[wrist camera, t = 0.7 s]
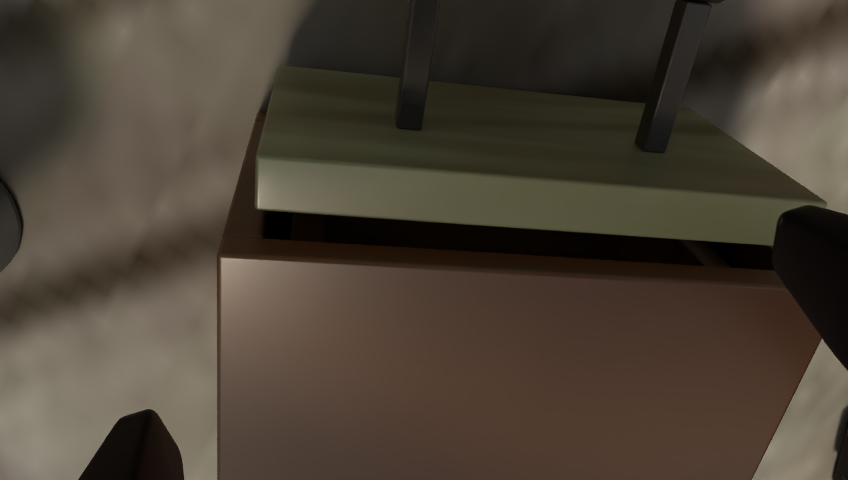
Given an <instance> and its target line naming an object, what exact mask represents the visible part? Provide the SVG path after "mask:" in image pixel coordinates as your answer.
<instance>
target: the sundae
mask: <svg viewBox="0 0 848 480" xmlns="http://www.w3.org/2000/svg"><path fill="white" fill-rule="evenodd" d="M20 237H21V222H20V218H19V214H18V211H17V208H16V206H15V203H14V201H13V198H12V196H11V195H10V194H9V192H8V191H7V190H6V188H5V187H4V186H3V184H2V183H1V182H0V272H1V271H2V270H3V269H4V268H5V267H6V266H7V265H8V264H9V263H10V262H11V260H12V259H13V257H14V256H15V254H16V253H17V251H18V247H19V242H20Z"/></svg>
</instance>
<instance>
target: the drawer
mask: <svg viewBox="0 0 848 480" xmlns="http://www.w3.org/2000/svg"><path fill="white" fill-rule="evenodd" d="M723 1H724V0H676V2H675V6H674V9H673V12H672V16H671V19H670V23H669V26H668V29H667V33H666V36H665V40H664V43H663V46H662V50H661V53H660V57H659V60H658V63H657V67H656V70H655V74H654V77H653V80H652V84H651V87H650V91H649V94H648V97H647V101H646V103H636V102H627V101H617V100H608V99H598V98H589V97H579V96H570V95H560V94H551V93H541V92H532V91H522V90H512V89H503V88H493V87H484V86H474V85H465V84H455V83H446V82H436V81H429V77H430V70H431V63H432V56H433V49H434V42H435V35H436V28H437V21H438V14H439V7H440V0H409V4H408V12H407V20H406V28H405V37H404V45H403V53H402V61H401V69H400V77H399V78H398V77H389V76H379V75H370V74H360V73H351V72H341V71H332V70H322V69H313V68H303V67H294V66H284V65H280V66H279V67H278V69H277V73H276V77H275V81H274V86H273V90H272V94H271V98H270V102H269V106H268V110H267V114H266V118H265V122H264V126H263V130H262V134H261V138H260V142H259V146H258V150H257V154H256V165H255V203H254V206H255V208H256V209H257V210H266V211H281V212H293V215H292V225H291V235H290V240H297V241H313V242H328V243H344V244H360V245H376V246H392V247H408V248H424V249H440V250H456V251H472V252H488V253H504V254H520V255H536V256H552V257H567V258H583V259H599V260H615V261H631V262H647V263H663V264H679V265H695V266H711V267H727V268H731V267H730V266H729V265H728V264H727V263H726V262H725V261H724V260H723V259H722V258H721V257H720V256H719V255H718V254H717V253H716V252H715V251H714V250H713V249H712V248H711V247H710V246H709V245H708V244H707V243H706V242H705V241H712V242H726V243H741V244H755V245H769V246H773V243H774V237H775V231H776V225H777V220H778V218H779V216H780V215H781V214H782V213H783V212H785V211H788V210H791V209H794V208H798V207H801V206H805V205H813V206H817V207H821V208H826V205H827V203H826V201H824V200H823V199H821V198H820V197H818V196H817V195H815V194H814V193H812V192H811V191H809V190H808V189H807V188H805V187H804V186H802V185H801V184H799V183H798V182H796V181H795V180H793V179H792V178H790V177H789V176H788V175H786V174H785V173H783V172H782V171H780V170H779V169H777V168H776V167H774V166H773V165H771V164H770V163H768V162H767V161H766V160H764V159H763V158H761V157H760V156H758V155H757V154H755V153H754V152H752V151H751V150H749V149H748V148H746V147H745V146H744V145H742V144H741V143H739V142H738V141H736V140H735V139H733V138H732V137H730V136H729V135H727V134H726V133H725V132H723V131H722V130H720V129H719V128H717V127H716V126H714V125H713V124H711V123H710V122H708V121H707V120H705V119H704V118H703V117H701V116H700V115H698V114H697V113H695V112H694V111H692V110H691V109H689V108H684V107H680V104H681V101H682V98H683V95H684V92H685V89H686V85H687V82H688V79H689V76H690V73H691V70H692V67H693V63H694V60H695V57H696V54H697V51H698V48H699V45H700V42H701V38H702V35H703V32H704V29H705V26H706V23H707V20H708V16H709V13H710V10H711V4H709V3H714V4H717V3H720V2H723ZM706 2H707V3H706Z"/></svg>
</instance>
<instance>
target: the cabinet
mask: <svg viewBox="0 0 848 480" xmlns="http://www.w3.org/2000/svg"><path fill="white" fill-rule="evenodd" d="M266 114H267V113H263V112H259V113H258V114H257V116H256V120H255V123H254V126H253V130H252V133H251V137H250V140H249V144H248V147H247V151H246V154H245V158H244V161H243V165H242V168H241V172H240V175H239V179H238V182H237V186H236V189H235V193H234V196H233V200H232V203H231V207H230V210H229V214H228V217H227V221H226V224H225V228H224V231H223V235H222V240H221V243H220V247H219V251H218V254H217V480H752V478H753V476H754V474H755V472H756V470H757V468H758V466H759V464H760V462H761V460H762V458H763V456H764V454H765V452H766V450H767V448H768V446H769V444H770V442H771V440H772V438H773V436H774V434H775V432H776V430H777V428H778V426H779V424H780V422H781V420H782V418H783V416H784V414H785V412H786V409H787V407H788V405H789V403H790V401H791V399H792V397H793V395H794V393H795V391H796V389H797V387H798V385H799V383H800V381H801V379H802V377H803V375H804V373H805V371H806V369H807V367H808V365H809V363H810V361H811V359H812V357H813V355H814V353H815V351H816V349H817V347H818V345H819V343H820V341H821V339H822V337H821V336H820V335H819V333H818V332H817V330H816V329H815V328H814V326H813V325H812V323H811V322H810V320H809V319H808V318H807V316H806V315H805V313H804V312H803V311H802V309H801V308H800V306H799V305H798V304H797V302H796V301H795V299H794V298H793V296H792V295H791V294H790V292H789V291H788V289H787V288H786V287H785V285H784V284H783V282H782V281H781V280H780V278H779V277H778V275H777V274H776V272H775V270H774V268H773V264H772V258H771V257H772V249H773V246H769V245H755V244H741V243H726V242H712V241H705V242H706V243H707V244H708V245H709V246H710V247H711V248H712V249H713V250H714V251H715V252H716V253H717V254H718V255H719V256H720V257H721V258H722V259H723V260H724V261H725V262H726V263H727V264H728V265H729V266H730V267H731V268H727V267H711V266H695V265H679V264H663V263H647V262H631V261H615V260H599V259H583V258H567V257H552V256H536V255H520V254H504V253H488V252H472V251H456V250H440V249H424V248H408V247H392V246H376V245H360V244H344V243H328V242H313V241H297V240H290V235H291V225H292V215H293V212H281V211H266V210H257V209H256V208H255V206H254V203H255V165H256V154H257V150H258V146H259V142H260V138H261V134H262V130H263V126H264V122H265V118H266Z"/></svg>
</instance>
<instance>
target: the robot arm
mask: <svg viewBox="0 0 848 480" xmlns="http://www.w3.org/2000/svg"><path fill="white" fill-rule="evenodd" d="M771 258H772V264H773V268H774V270H775V272H776V274H777V275H778V277H779V278H780V280H781V281H782V282H783V284H784V285H785V287H786V288H787V289H788V291H789V292H790V294H791V295H792V296H793V298H794V299H795V301H796V302H797V304H798V305H799V306H800V308H801V309H802V311H803V312H804V313H805V315H806V316H807V318H808V319H809V320H810V322H811V323H812V325H813V326H814V328H815V329H816V330H817V332H818V333H819V335H820V336H821V337H822V339H823V340H824V342H825V343H826V344H827V346H828V347H829V348H830V350H831V351H832V352H833V353H834V355H835V356H836V357H837V358H838V360H839V361H840V362H841V363H842V364H843V366H844V367H845V368H846V369H847V370H848V215H847V214H843V213H839V212H836V211H832V210H828V209H825V208H821V207H817V206H813V205H805V206H801V207H798V208H794V209H791V210H788V211H785V212H783V213H782V214H781V215H780V216H779V218H778V220H777V225H776V231H775V237H774V243H773V249H772V257H771ZM78 480H184V473H183V464H182V458H181V454H180V451H179V449H178V446H177V445H176V443H175V441H174V440H173V438H172V436H171V435H170V433H169V432H168V430H167V428H166V427H165V425H164V424H163V422H162V420H161V419H160V417H159V416H158V414H157V413H156V412H155V411H153V410H151V409H146V410H143V411H140V412H136V413H133V414H130V415H127V416H124V417H122V418H120V419H119V420H118V421H117V423H116V424H115V425H114V427H113V428H112V430H111V431H110V433H109V434H108V436H107V437H106V439H105V440H104V442H103V443H102V445H101V446H100V448H99V449H98V451H97V452H96V454H95V455H94V457H93V458H92V460H91V461H90V463H89V464H88V466H87V467H86V469H85V470H84V472H83V473H82V475H81V476H80V478H79V479H78ZM834 480H848V422H847V426H846V430H845V435H844V439H843V443H842V447H841V451H840V455H839V459H838V463H837V468H836V472H835V476H834Z"/></svg>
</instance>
